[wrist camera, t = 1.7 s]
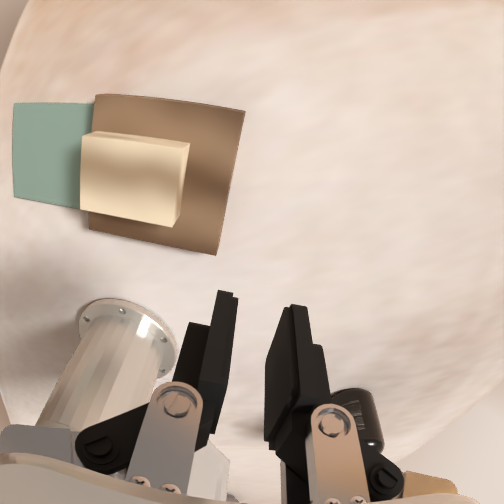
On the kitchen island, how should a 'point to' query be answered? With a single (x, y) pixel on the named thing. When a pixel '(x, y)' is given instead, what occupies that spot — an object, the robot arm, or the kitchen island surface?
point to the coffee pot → (231, 498)
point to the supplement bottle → (362, 415)
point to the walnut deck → (197, 170)
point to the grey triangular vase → (209, 474)
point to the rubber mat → (49, 151)
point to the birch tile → (133, 176)
